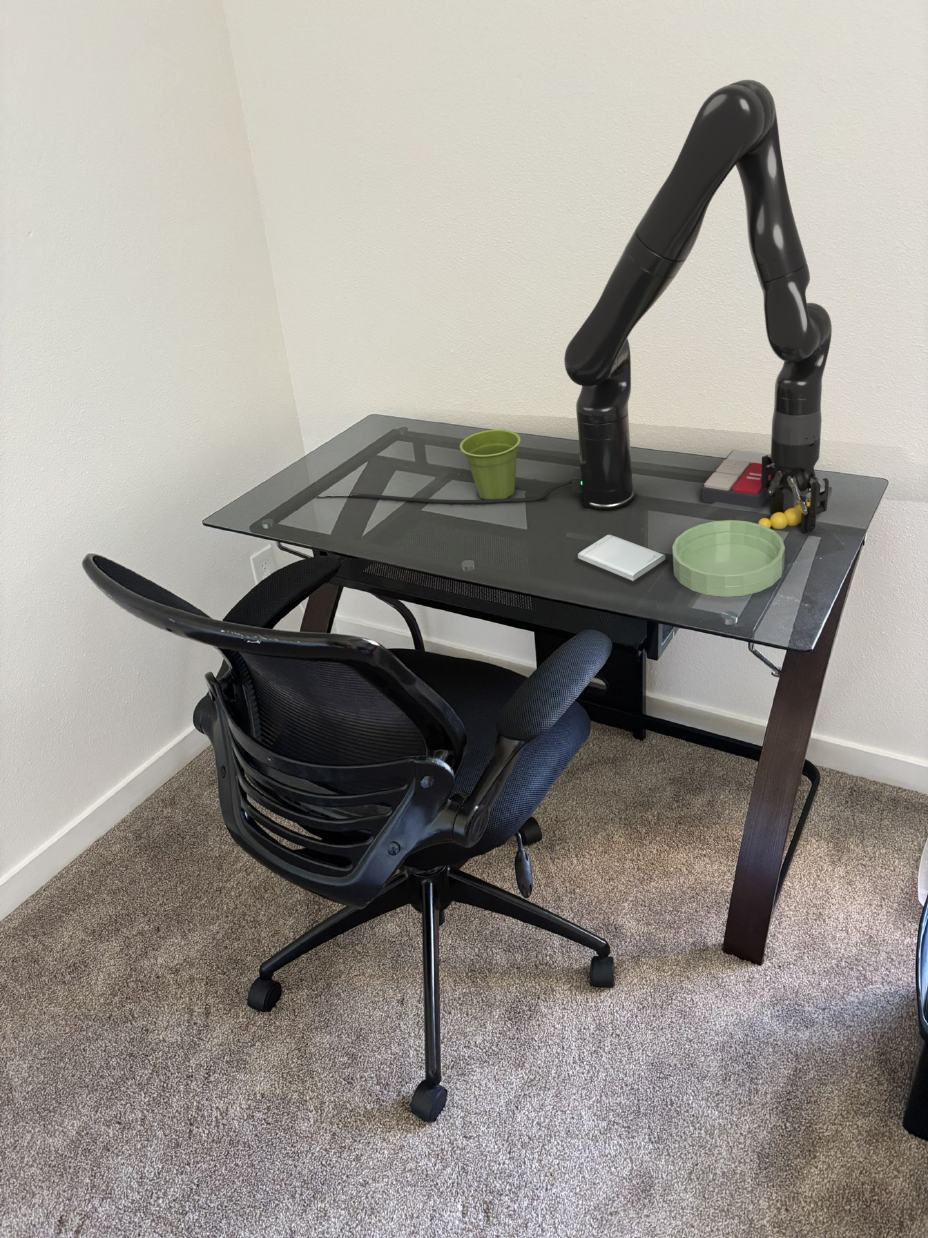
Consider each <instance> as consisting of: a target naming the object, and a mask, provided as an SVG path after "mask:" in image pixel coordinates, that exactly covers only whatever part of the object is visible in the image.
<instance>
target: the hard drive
mask: <svg viewBox="0 0 928 1238" xmlns="http://www.w3.org/2000/svg"><path fill="white" fill-rule="evenodd" d="M577 559H579V560H582V561H583V562H587V563H589V564H591V565H594V566H596V567H598V568H601V569H603V570H606V571H609V572H611V573H613V574H615V575H618V576H620V577H623V578H625V579H627V580H630V581H632V582H635V580H637V579H638V578H640V577H642V576H643V575H645V574H646V573H648V572H649V571H650V570H652V569H654V568H655V567H656V566H658V565H659V564H661V563H663V562H664V561H665V560H666V554H664V553H660V552H658V551H655V550H653V549H650V548H647V547H645V546H643V545H642V546H641V545H639V544H637V543H634V542H631V541H629V540H626V539H623V538H621V537H619V536H614V535H612V534H607V535H605V536H603V537H602V538H600V539H599V540H597V541H595V542H594V543H592V544H590V545H589V546H587V547H586V548H584V549H582V550H581V551H579V553H578V554H577Z"/></svg>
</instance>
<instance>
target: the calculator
mask: <svg viewBox="0 0 928 1238" xmlns="http://www.w3.org/2000/svg"><path fill="white" fill-rule="evenodd" d="M769 454H770V453H764V452H755V451H747V450H740V449H733V450H731V451H730V452H729V454H728V455H727V456H726V457H725V458H724V459H723V461H722V462H721V463H720V464H719V465H718V467H717V468H716V469H715V470H714V471H713V472H712V474H711V475H710V476H709V477H708V479H707V480H705V482H704V483H703V484H702V485H701V487H700V497H701V498H700V499H701V502H703V503H708V504H715V503H721V504H727V505H733V506H740V507H746V508H751V509H761V507H762V506H763V504H764V503H765V502H766V501H767V500H768V499H769V498H770V495H769V494H768V489H767V488H763V487H762V485H761V475H762V457H763V456H766V455H769ZM769 479H771V475H769V476H768V480H769Z"/></svg>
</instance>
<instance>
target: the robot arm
mask: <svg viewBox="0 0 928 1238" xmlns="http://www.w3.org/2000/svg"><path fill="white" fill-rule="evenodd" d="M774 100H775V99H774V97H773V95H772V93H771V91H770V90H769V89H768V87H767V86H766V85H765V84H763V83H761V82H760V81H757V80H754V79H742V80H738V81H735V82H732V83H730V84H728V85H724V86H722V87H720V88H718V89H716V90H715V91H713V92H712V93H711V94H710V95H709V96H708V97H707V98H706V99H705V100H704V101H703V103H702V105H701V106H700V108H699V109H698V112H697V113H696V116H695V117H694V120H693V123H692V125H691V127H690V129H689V132H688V134H687V135H686V138H685V141H684V142H683V145H682V148H681V149H680V151H679V153H678V155H677V156H678V157H677V159H676V161H675V163H674V164H673V167H672V168H671V171H670V172H669V175H667V178H666V179H665V181H664V182H663V184H662V185H661V186H660V188H659V189H658V191H657V193H656V194H655V196H654V198H653V199H652V200H651V202H650V204H649V206H648V208H646V211H645V212H644V214H643V216H642V217H641V219H640V221H638V224H637V225H636V227H635V229H634V231H633V232H632V234H631V236H630V238H629V240H628V242H627V243H626V245H625V247H624V249H623V251H622V252H621V255H620V257H619V259H617V260H618V261H617V262H616V264H615V265H614V266H615V267H614V268H613V270H612V272H611V274H610V276H609V278H608V280H607V281H606V284H605V286H604V288H603V290H602V292H601V294H600V297H599V298H598V300H597V302H596V304H595V306H594V307H593V308H592V311H591V312H590V313H589V315H588V316H587V317H586V319H585V320H584V322H583V323H582V324H581V326H580V327H579V328H578V330H577V331H576V333H575V334H574V335H573V337H572V338H571V339H570V340H569V342H568V343H567V346H566V348H565V350H564V351H565V352H564V358H563V363H564V368H565V371H566V374H567V376H568V378H569V379H570V380H571V381H572V382H573V383H574V384H576V385H578V386H581V389H580V392H579V395H578V397H577V400H576V403H575V411H576V422H577V435H578V444H579V455H580V457H579V465H580V467H579V468H574V470H573V473H572V475H571V478H570V479H568V480H565V481H562V482H559V483H556V484H553V485H552V486H551V487H549V488H548V489H547V490H546V491H545V492H544V493H543V494H540V495H537V496H534V497H520V498H519V497H511V498H510V497H507V498H505V499H486V500H485V499H441V498H423V497H411V496H410V497H409V496H408V497H407V496H397V495H396V496H395V495H384V494H373V493H372V494H371V493H370V494H369V493H357V494H358V495H352V497H351V498H359V499H360V498H363V499H377V500H378V499H379V500H392V501H400V502H401V501H402V502H413V503H425V504H426V503H427V504H448V505H454V504H455V505H467V504H468V505H473V504H474V505H475V504H476V505H477V504H479V505H480V504H481V505H482V504H498V503H499V504H501V503H502V504H503V503H530V502H531V503H532V502H536V501H537V502H538V501H541V500H544V499H546V498H547V497H548V496H549V495H550V494H551V493H552V492H553V491H555V490H558V489H559V488H561V487H565V486H568V485H571V492H572V493H573V494H574V493H575V494H576V493H577V494H579V493H582V498H583V508H585V509H586V508H589V509H593V510H597V511H598V510H600V511H607V510H608V511H609V510H610V511H611V510H616V509H620V508H624V507H625V506H627V505H629V504H631V502H632V501H633V500H634V498H635V493H634V492H635V491H634V484H633V468H632V454H631V453H632V452H631V434H630V420H629V419H630V418H629V401H630V398H631V393H632V362H631V361H632V360H631V359H632V358H631V356H632V355H631V347H630V346H631V345H630V342H629V336H630V334H631V332H632V331H633V329H634V328H635V327H636V325H638V323H639V321H640V320H641V319H642V318H643V317H644V316H645V315H646V314H647V313H648V311H649V310H650V309H651V308H652V307H653V306H654V305H655V304H656V302H657V301H658V300H659V299H660V297H661V296H662V295H663V294H664V293H665V292H666V290H667V289H668V288H669V287H670V285H671V283H672V282H673V281H674V280H675V278H676V276H677V275H678V273H679V272H680V270H681V269H682V267H683V265H684V264H685V262H686V261H687V259H688V258H689V255H690V254H691V252H692V251H693V248H694V247H695V245H696V242H697V240H698V237H699V235H700V233H701V229H702V226H703V223H704V220H705V216H706V213H707V211H708V208H709V206H710V203H711V201H712V200H713V198H714V196H715V195H716V193H717V192H718V191H719V189H720V187H721V185H722V184H723V183H724V182H725V180H726V178H727V177H728V176H729V174H730V173H731V171H732V170H733V169H734V168H736V170H737V172H738V175H739V180H740V182H741V186H742V191H743V196H744V202H745V210H746V211H745V215H746V229H747V240H748V247H749V252H750V256H751V260H752V264H753V266H754V269H755V273H756V277H757V279H758V283H759V286H760V289H761V291H762V297H763V298H762V299H763V314H764V324H765V331H766V332H765V333H766V337H767V340H768V341H767V342H768V344H769V346H770V348H771V350H772V352H773V353H774V355H776V357H778V359H780V360H781V361H783V363H782V364H783V365H782V367H781V369H780V371H779V373H778V374H777V377H776V379H775V383H774V400H773V401H774V402H773V403H774V404H773V414H772V419H771V439H770V440H771V441H770V445H771V447H770V453H768V454H769V455H766V456H763V457H762V475H761V485H762V487H763V488H767V489H768V494H769V495H770V496H769V512H770V515H771V516H772V515H773V514H774V513H777V512H782V513H784V503H785V493H784V491H785V490H787V491H789V492H790V493H791V494H793V497H794V500H795V502H796V503H798V504H800V507H801V509H802V512H803V513H801V523H800V532H801V533H802V534H807V533H810V532H813V530H814V529H816V520H817V515H818V514H821V513H824V512H827V510H828V499H829V498H828V497H829V488H830V487H829V485H830V481H829V479H828V477H824V478H819V477H817V476H816V472H815V466H816V465H817V462H818V461H819V459H820V452H821V451H820V450H821V438H822V437H821V435H822V421H823V420H822V392H823V376H824V372H825V368H826V365H827V360H828V355H829V351H830V347H831V342H832V334H833V328H832V327H833V326H832V320H831V317H830V315H829V313H828V311H827V309H825V308H824V307H823V306H822V305H821V304H818V303H817V302H808V301H807V295H806V293H807V290H808V289H807V288H808V286H809V284H810V281H811V273H810V268H809V264H808V261H807V258H806V254H805V251H804V247H803V244H802V241H801V237H800V235H799V230H798V227H797V223H796V220H795V216H794V212H793V208H792V203H791V199H790V196H789V195H790V194H789V191H788V186H787V180H786V175H785V169H784V164H783V156H782V150H781V143H780V131H779V122H778V115H777V109H776V102H775V101H774ZM769 475H771V479H769V480H768V476H769ZM806 491H808V492H807V493H806V494H802V493H804V492H806ZM349 496H350V495H349ZM353 496H354V497H353ZM807 500H809V501H808V502H810V506H807V503H806V502H807Z"/></svg>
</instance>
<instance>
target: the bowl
mask: <svg viewBox="0 0 928 1238" xmlns="http://www.w3.org/2000/svg"><path fill="white" fill-rule="evenodd" d="M671 551H672V571H673V577H675V579H676V580H677V581H678V583H679V584H680V585H682V586H684V587H685V588H687V589H688V590H690V591H692V592H695V593H699V594H701V595H705V596H712V597H721V598H731V597H732V598H733V597H744V596H748V595H753V594H756V593H760V592H762V591H764V590H766V589H769V588H770V587H772V586H774V584H776V583H777V582H778V581H779V580H780V579H781V578H782V575H783V573H784V571H785V570H784V569H785V555H786V546H785V543H784V540H783V538H782V537H781V536H780V535H779V533H777V532H776V531H775V530H773V529H771V528H770V529H769V528H767V527H765V526H763V525H760V524H757V523H756V522H752V521H747V520H734V519H727V520H713V521H709V522H705V523H701V524H697V525H695V526H693V527H690V528H688V529H685V531H683V532H682V533H681V534H680V535H678V536H677V537H676V538H675V540H674V542H673V544H672V546H671Z"/></svg>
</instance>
